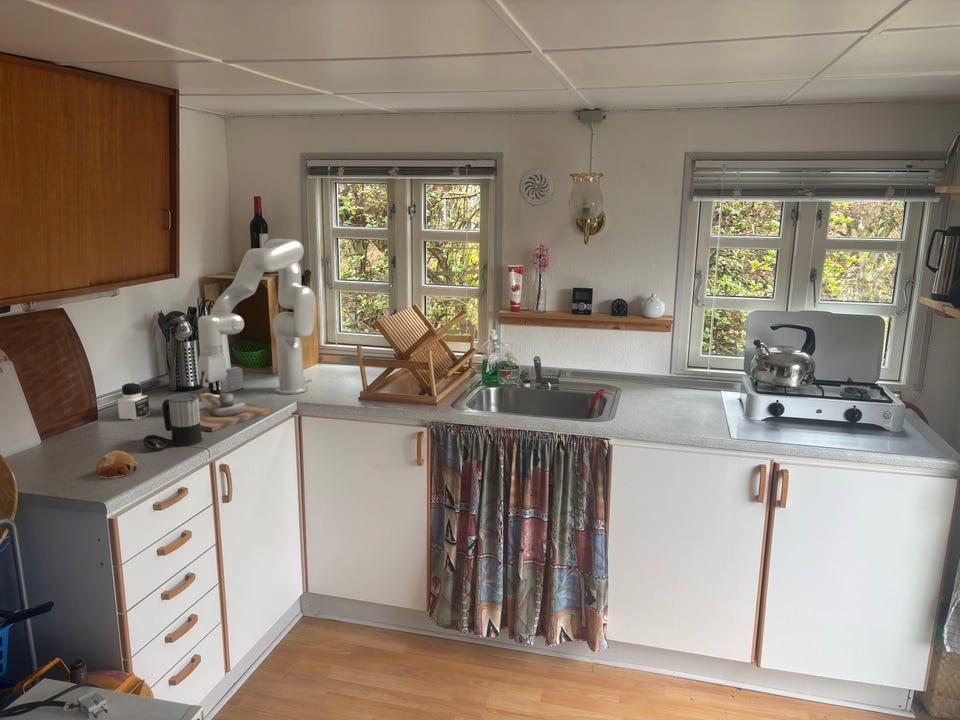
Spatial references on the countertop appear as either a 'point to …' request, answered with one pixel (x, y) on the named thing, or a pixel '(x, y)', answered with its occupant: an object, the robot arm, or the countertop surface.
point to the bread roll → (116, 464)
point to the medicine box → (233, 380)
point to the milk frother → (179, 422)
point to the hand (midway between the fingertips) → (215, 399)
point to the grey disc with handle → (221, 403)
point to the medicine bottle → (133, 402)
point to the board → (229, 417)
